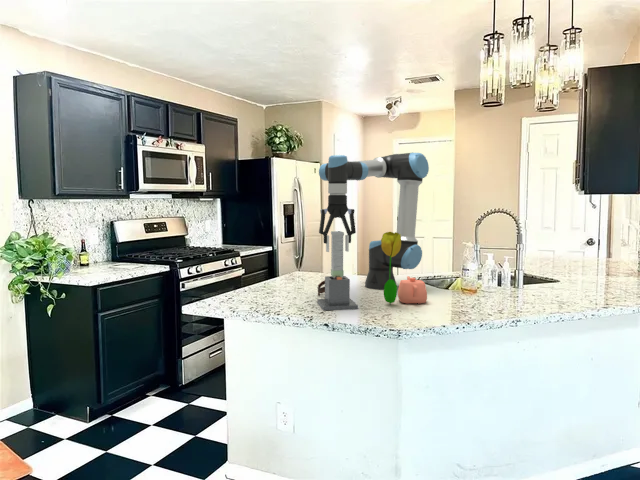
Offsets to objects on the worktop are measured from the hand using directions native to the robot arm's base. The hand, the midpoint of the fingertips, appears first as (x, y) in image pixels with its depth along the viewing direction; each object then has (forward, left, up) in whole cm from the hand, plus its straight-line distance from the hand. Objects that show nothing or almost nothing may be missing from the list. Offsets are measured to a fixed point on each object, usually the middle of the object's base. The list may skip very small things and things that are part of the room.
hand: (337, 251), depth 194 cm
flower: (-22, +2, -23) cm, 32 cm away
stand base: (0, 0, -22) cm, 22 cm away
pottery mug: (-1, -21, -23) cm, 31 cm away
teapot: (-33, -2, -23) cm, 40 cm away
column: (0, 0, -13) cm, 13 cm away
